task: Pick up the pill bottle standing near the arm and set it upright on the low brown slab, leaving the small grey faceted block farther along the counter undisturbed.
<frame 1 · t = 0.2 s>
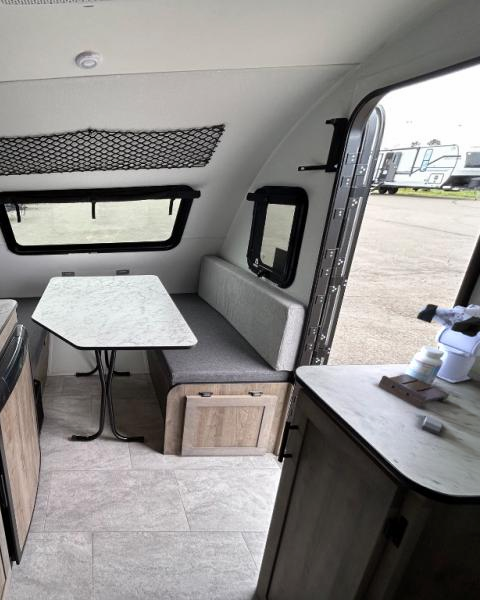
hand: (436, 321, 92), 21 cm above the counter, tool horizontal, fingers open, 7 cm apart
pill bottle: (416, 381, 101), on the counter
brown slab: (410, 393, 94), on the counter
grey faceted block: (430, 426, 81), on the counter
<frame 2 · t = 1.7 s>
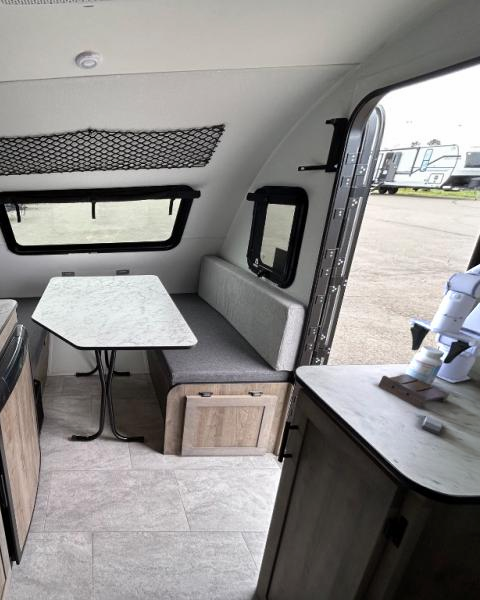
hand: (430, 356, 97), 9 cm above the counter, tool pointing down, fingers open, 7 cm apart
nothing on the counter moved.
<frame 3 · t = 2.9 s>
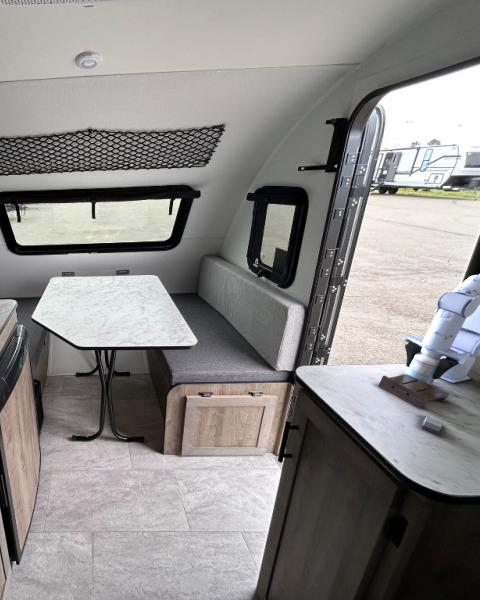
hand: (421, 372, 99), 3 cm above the counter, tool pointing down, fingers closed on pill bottle, 6 cm apart
pill bottle: (416, 381, 101), on the counter, touching gripper
everything else where it was.
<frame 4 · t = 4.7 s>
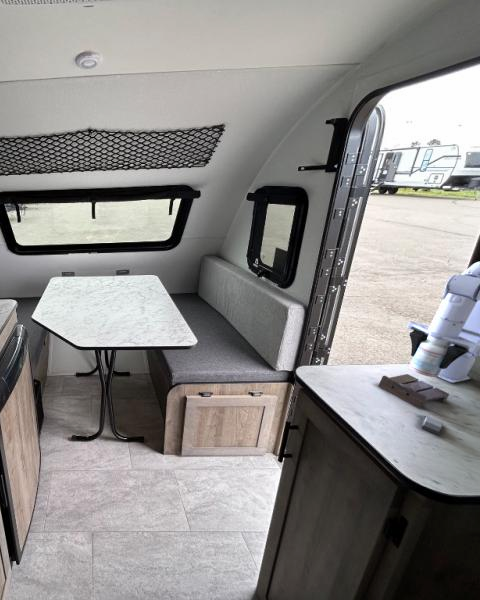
hand: (427, 361, 93), 10 cm above the counter, tool pointing down, fingers closed on pill bottle, 6 cm apart
pill bottle: (422, 372, 94), point 6 cm above the counter, touching gripper
everything else where it was.
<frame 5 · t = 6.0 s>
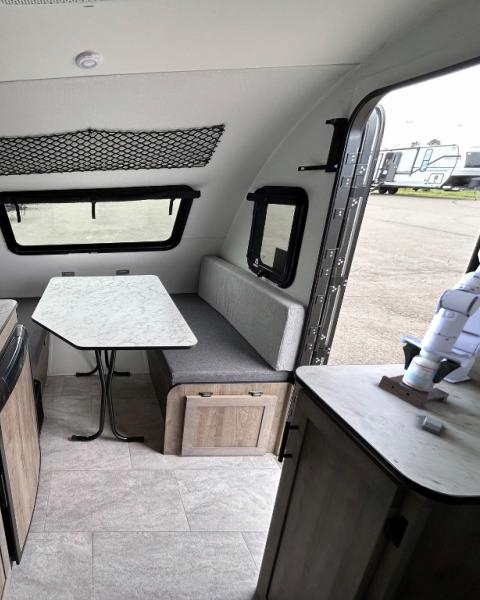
hand: (421, 375, 92), 6 cm above the counter, tool pointing down, fingers closed on pill bottle, 6 cm apart
pill bottle: (415, 386, 94), point 3 cm above the counter, touching gripper
everything else where it was.
when the fingers open (6 cm above the counter, at t = 6.7 s): pill bottle stays where it is, resting on brown slab.
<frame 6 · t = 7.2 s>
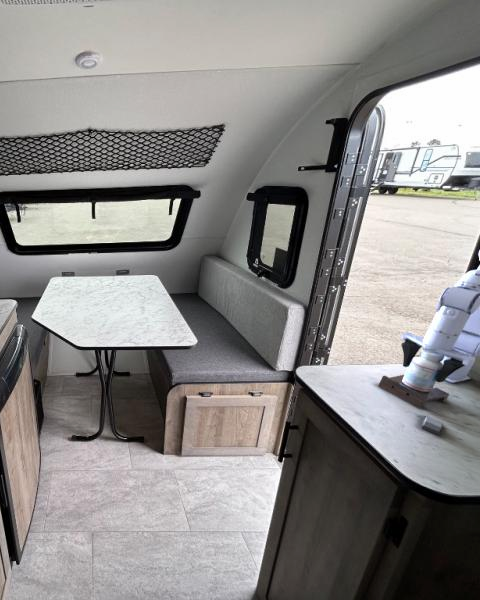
hand: (422, 373, 92), 7 cm above the counter, tool pointing down, fingers open, 7 cm apart
pill bottle: (415, 386, 94), point 2 cm above the counter, touching brown slab
everything else where it was.
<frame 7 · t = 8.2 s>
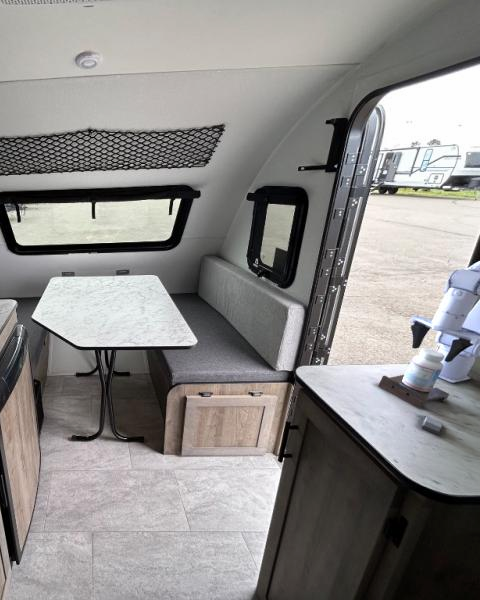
hand: (430, 354, 96), 10 cm above the counter, tool pointing down, fingers open, 7 cm apart
nothing on the counter moved.
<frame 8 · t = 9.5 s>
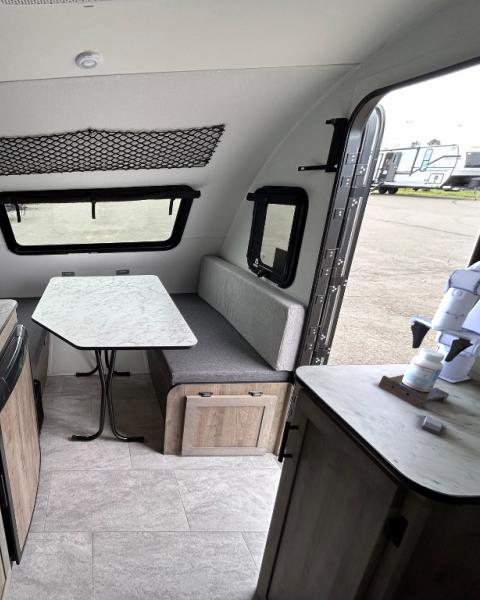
hand: (430, 354, 96), 10 cm above the counter, tool pointing down, fingers open, 7 cm apart
nothing on the counter moved.
at the end: pill bottle inside the target area on the brown slab (0.5 cm from its centre), point 2.3 cm above the brown slab's base; pill bottle tilted 0°; grey faceted block moved 0.0 cm from its start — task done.
